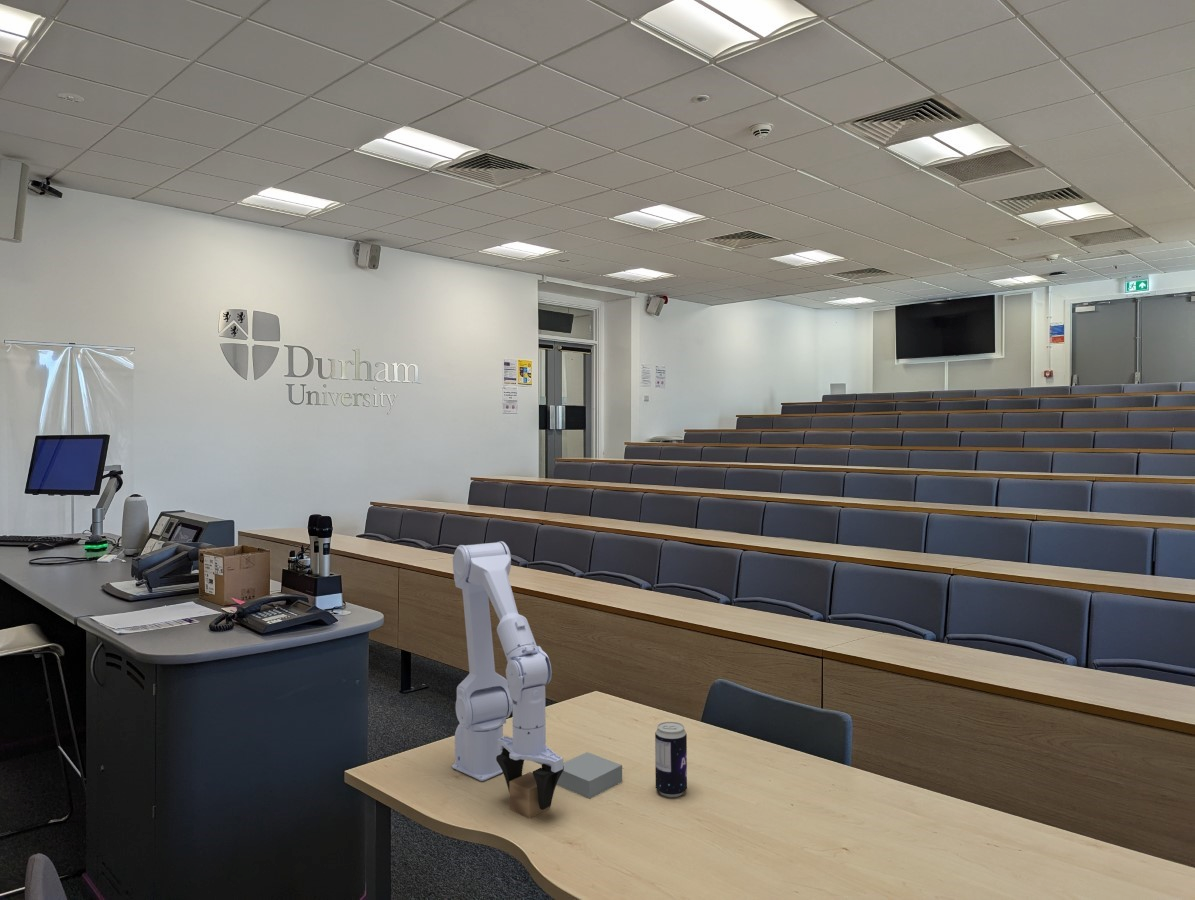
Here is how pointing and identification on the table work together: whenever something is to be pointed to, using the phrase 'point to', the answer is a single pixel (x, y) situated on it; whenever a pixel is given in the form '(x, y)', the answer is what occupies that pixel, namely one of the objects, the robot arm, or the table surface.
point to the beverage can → (671, 759)
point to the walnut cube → (524, 796)
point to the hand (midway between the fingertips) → (529, 800)
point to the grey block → (590, 775)
